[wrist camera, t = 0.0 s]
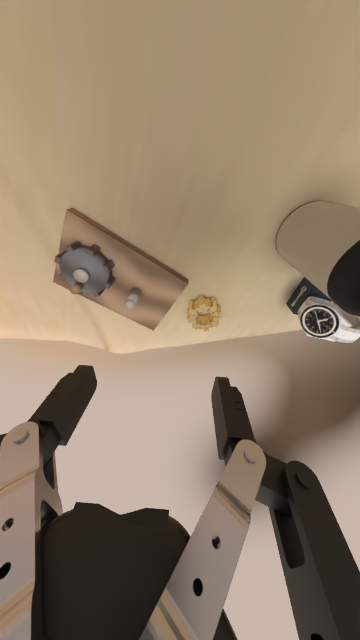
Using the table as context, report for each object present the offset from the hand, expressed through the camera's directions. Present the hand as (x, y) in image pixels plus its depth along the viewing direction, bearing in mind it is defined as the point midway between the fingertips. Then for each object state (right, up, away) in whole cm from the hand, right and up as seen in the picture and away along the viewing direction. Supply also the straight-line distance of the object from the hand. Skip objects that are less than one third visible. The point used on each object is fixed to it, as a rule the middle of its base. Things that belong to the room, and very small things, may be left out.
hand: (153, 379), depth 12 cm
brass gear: (+6, +6, +23) cm, 25 cm away
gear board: (-9, +11, +20) cm, 25 cm away
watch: (+24, +9, +20) cm, 33 cm away
